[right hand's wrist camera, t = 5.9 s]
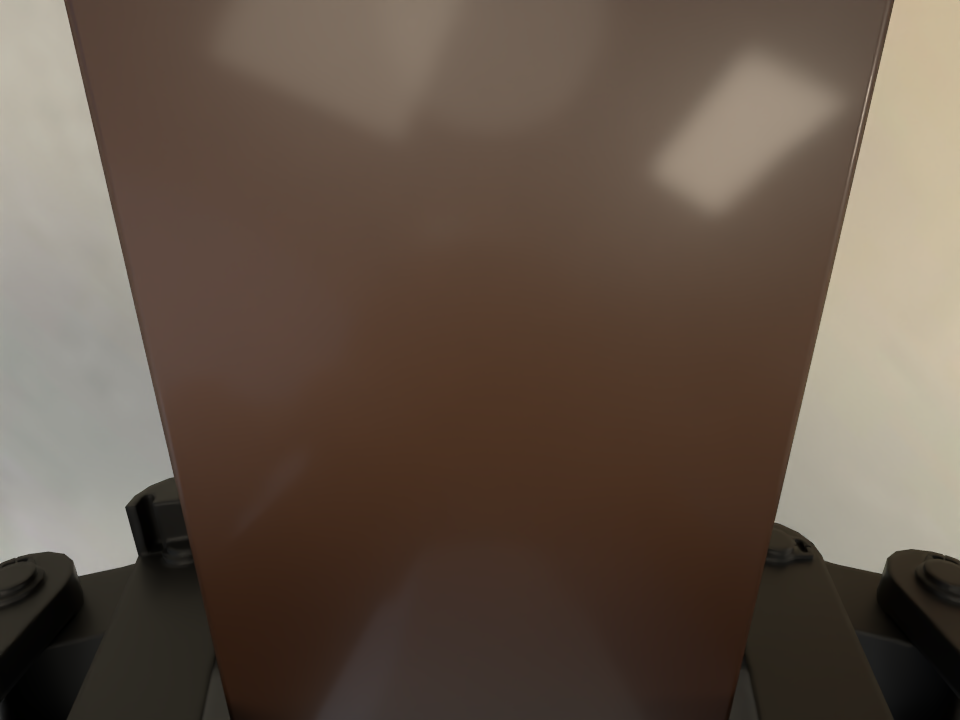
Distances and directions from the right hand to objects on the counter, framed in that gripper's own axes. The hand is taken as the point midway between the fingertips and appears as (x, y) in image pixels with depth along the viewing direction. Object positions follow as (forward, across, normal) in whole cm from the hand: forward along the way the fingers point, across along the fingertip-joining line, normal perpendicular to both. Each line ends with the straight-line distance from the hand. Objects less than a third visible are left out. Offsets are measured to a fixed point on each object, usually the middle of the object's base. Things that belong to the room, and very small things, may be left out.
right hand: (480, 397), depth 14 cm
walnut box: (+1, 0, -9) cm, 9 cm away
